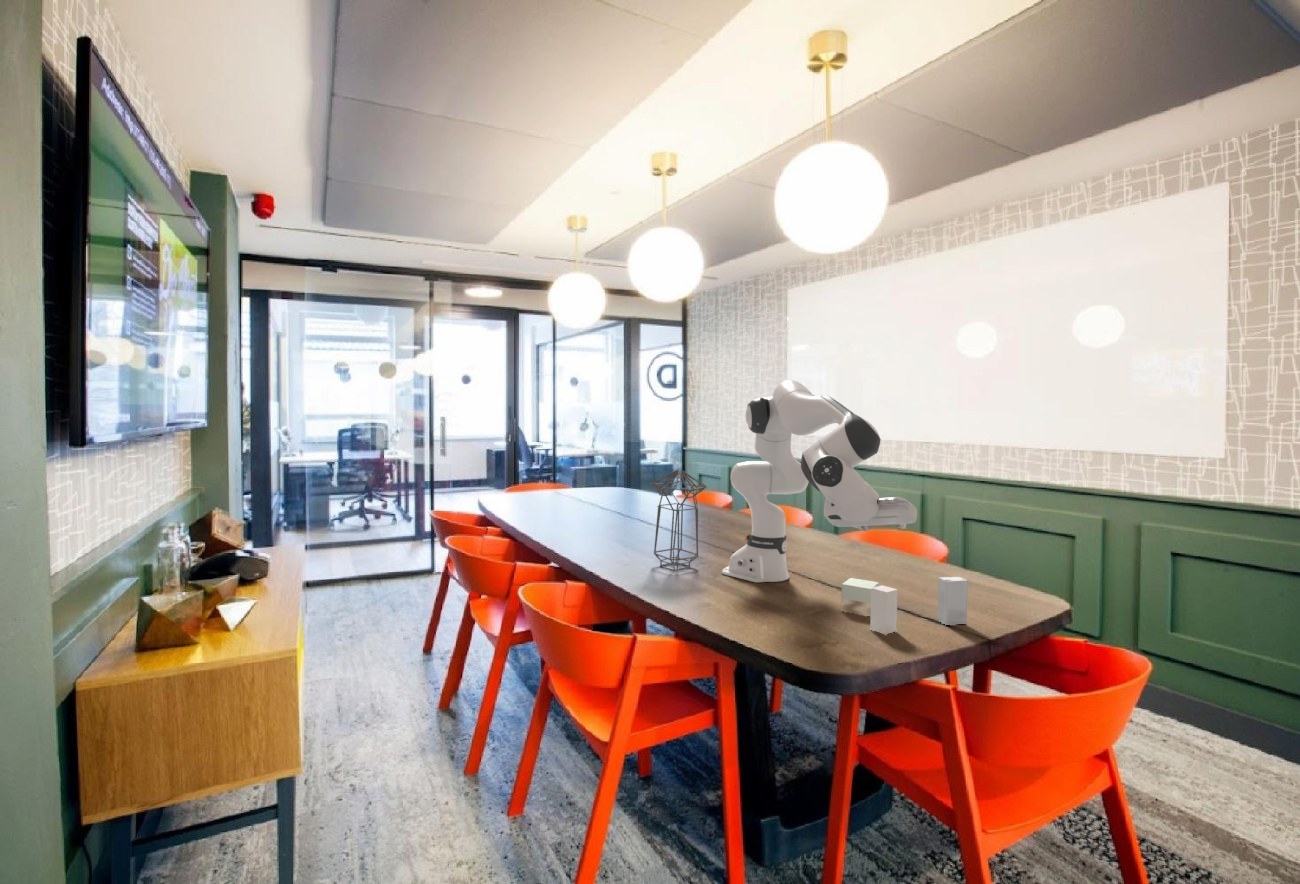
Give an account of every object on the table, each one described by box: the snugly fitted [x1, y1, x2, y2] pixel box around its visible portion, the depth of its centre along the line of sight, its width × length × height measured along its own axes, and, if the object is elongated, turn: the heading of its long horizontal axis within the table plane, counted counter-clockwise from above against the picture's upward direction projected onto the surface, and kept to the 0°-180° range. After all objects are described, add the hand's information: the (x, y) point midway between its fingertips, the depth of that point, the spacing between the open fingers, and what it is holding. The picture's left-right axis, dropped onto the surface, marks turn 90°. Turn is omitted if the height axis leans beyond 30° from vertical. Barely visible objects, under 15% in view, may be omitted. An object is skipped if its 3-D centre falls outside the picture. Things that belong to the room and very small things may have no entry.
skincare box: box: [936, 576, 969, 626], centre depth 165 cm, size 6×4×12 cm
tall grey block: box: [869, 584, 899, 635], centre depth 159 cm, size 4×4×11 cm
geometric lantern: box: [649, 469, 708, 572], centre depth 221 cm, size 16×16×35 cm
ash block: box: [840, 597, 871, 617], centre depth 176 cm, size 8×8×4 cm
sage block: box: [840, 577, 880, 603], centre depth 175 cm, size 8×8×4 cm
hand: (883, 527), depth 152 cm, fingers open, 8 cm apart
